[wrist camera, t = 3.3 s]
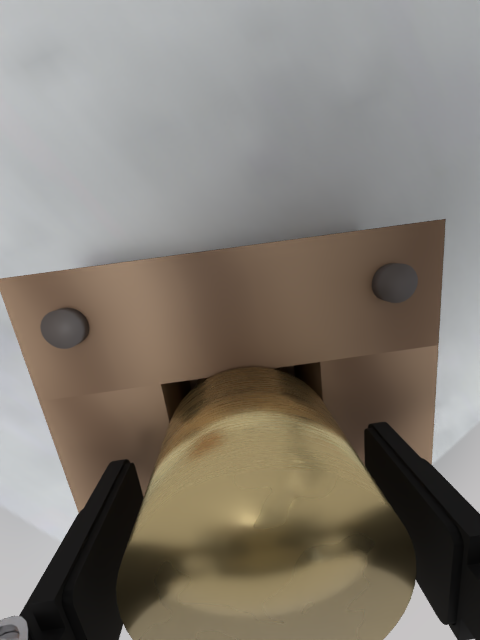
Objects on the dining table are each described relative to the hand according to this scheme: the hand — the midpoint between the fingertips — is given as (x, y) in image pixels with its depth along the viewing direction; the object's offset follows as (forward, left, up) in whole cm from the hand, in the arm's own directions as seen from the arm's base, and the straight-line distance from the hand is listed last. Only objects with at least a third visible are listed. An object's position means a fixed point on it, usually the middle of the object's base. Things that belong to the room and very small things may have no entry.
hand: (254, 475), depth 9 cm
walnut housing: (0, 0, -8) cm, 8 cm away
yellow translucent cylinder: (0, 0, -7) cm, 7 cm away
